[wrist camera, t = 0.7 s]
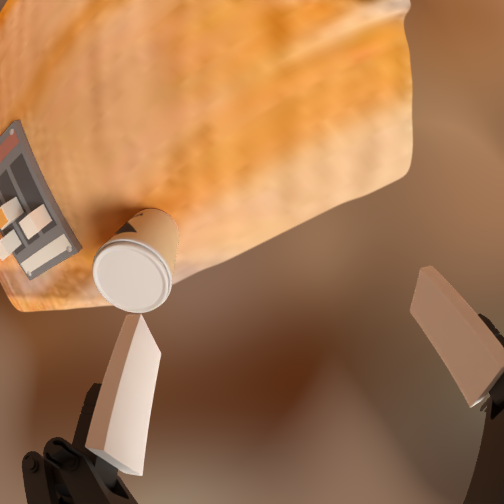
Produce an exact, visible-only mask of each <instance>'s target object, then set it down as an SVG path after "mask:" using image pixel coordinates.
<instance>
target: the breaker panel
mask: <svg viewBox="0 0 504 504" xmlns="http://www.w3.org/2000/svg"><path fill="white" fill-rule="evenodd" d="M15 197H17V199H18V201H19V203H20V205H21V207H22V209H23V211H24V213H23V214H22V215H20V216H19V217H18V218H17V219H16V220H15V221H13V222H12V223H11V224H9V225H8V226H7V227H6V228H4V229H3V230H1V229H0V232H1V234H2V236H3V238H2V239H1V240H0V259H1V260H2V261H3V260H4V259H5V258H7V257H8V256H9V255H10V254H11V253H13V255H14V257H15V258H16V260H17V261H18V263H19V265H20V266H21V268H22V269H23V271H24V272H25V274H26V275H27V277H28V278H29V280H32V279H34V278H35V277H37V276H38V275H40V274H42V273H43V272H45V271H47V270H48V269H50V268H52V267H53V266H55V265H57V264H59V263H60V262H62V261H64V260H65V259H67V258H69V257H71V256H72V255H74V254H76V253H78V252H79V251H80V250H81V248H82V247H81V245H80V243H79V242H78V240H77V238H76V237H75V235H74V233H73V232H72V230H71V228H70V227H69V225H68V223H67V221H66V220H65V218H64V216H63V214H62V212H61V211H60V209H59V207H58V205H57V203H56V201H55V199H54V197H53V195H52V193H51V191H50V189H49V187H48V185H47V183H46V181H45V179H44V177H43V175H42V173H41V171H40V169H39V166H38V164H37V162H36V160H35V157H34V155H33V153H32V150H31V148H30V145H29V143H28V140H27V138H26V135H25V133H24V130H23V127H22V124H21V122H20V120H16V121H14V122H13V123H12V124H11V125H10V126H9V127H8V128H7V129H6V130H5V132H4V133H3V134H2V135H1V136H0V207H1V206H2V205H3V204H5V203H7V202H8V201H10V200H11V199H13V198H15Z"/></svg>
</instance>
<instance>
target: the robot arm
mask: <svg viewBox="0 0 504 504" xmlns="http://www.w3.org/2000/svg"><path fill="white" fill-rule="evenodd" d="M410 312H411V314H412V315H413V317H414V318H415V320H416V321H417V322H418V324H419V325H420V327H421V328H422V330H423V331H424V332H425V334H426V336H427V337H428V338H429V340H430V341H431V343H432V345H433V346H434V347H435V349H436V351H437V352H438V354H439V355H440V357H441V358H442V360H443V361H444V363H445V365H446V366H447V368H448V370H449V371H450V373H451V375H452V376H453V378H454V379H455V381H456V383H457V385H458V386H459V388H460V390H461V392H462V393H463V395H464V397H465V399H466V401H467V402H468V404H469V406H470V407H472V406H473V405H475V404H477V403H478V402H480V401H482V400H483V398H484V397H485V396H486V395H487V394H488V392H489V394H490V397H489V398H488V399H487V401H486V402H485V403H484V404H483V405H482V407H481V409H480V411H482V410H483V409H484V408H485V407H486V406H487V408H486V410H485V412H486V419H485V425H484V431H483V436H482V441H481V446H480V450H479V454H478V458H477V462H476V466H475V470H474V473H473V477H472V480H471V483H470V486H469V489H468V492H467V495H466V498H465V500H464V503H463V504H504V337H503V336H502V335H500V332H499V331H498V330H497V329H495V326H494V325H493V324H492V322H491V321H490V320H489V319H487V318H486V317H485V316H483V315H481V314H478V315H477V314H476V313H475V311H474V310H473V309H472V308H471V307H470V306H469V305H468V304H467V302H466V301H465V300H464V299H463V298H462V297H461V296H460V295H459V293H458V292H457V291H456V290H455V289H454V288H453V287H452V286H451V285H450V284H449V283H448V282H447V281H446V280H445V278H444V277H443V276H442V275H441V274H440V273H439V272H438V271H437V270H436V269H435V268H434V267H433V266H427V267H423V268H420V272H419V276H418V280H417V284H416V289H415V292H414V296H413V300H412V304H411V307H410ZM160 357H161V352H160V351H159V349H158V347H157V345H156V343H155V341H154V339H153V337H152V335H151V333H150V331H149V329H148V327H147V325H146V323H145V321H144V319H143V317H142V314H130V315H126V318H125V320H124V323H123V325H122V328H121V331H120V334H119V336H118V339H117V341H116V344H115V347H114V350H113V353H112V356H111V359H110V361H109V364H108V368H107V370H106V373H105V376H104V379H103V383H102V384H97V383H94V384H93V385H92V387H91V388H90V390H89V391H88V392H87V395H86V398H85V401H84V406H83V407H82V410H81V414H80V417H79V421H78V424H77V428H76V431H75V435H74V439H73V442H72V445H71V444H70V443H69V442H67V441H66V440H64V439H63V438H60V437H56V438H52V439H51V440H50V441H48V442H47V443H46V445H45V447H44V452H43V455H44V457H43V456H41V455H40V454H39V453H37V452H35V451H34V452H33V451H31V452H28V453H27V454H26V455H25V456H24V458H23V461H22V471H23V478H24V486H25V492H26V498H27V503H28V504H138V503H137V501H136V500H135V499H134V497H133V496H132V494H131V493H130V492H129V490H128V489H127V487H126V486H125V484H124V483H123V481H122V480H121V478H120V477H119V476H118V475H117V472H118V469H119V470H121V471H122V472H124V473H127V474H134V475H140V476H142V475H143V465H144V457H145V448H146V441H147V433H148V426H149V420H150V413H151V407H152V401H153V395H154V389H155V383H156V378H157V372H158V367H159V362H160Z"/></svg>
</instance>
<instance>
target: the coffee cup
mask: <svg viewBox="0 0 504 504" xmlns="http://www.w3.org/2000/svg"><path fill="white" fill-rule="evenodd" d="M178 243H179V230H178V227H177V224H176V223H175V221H174V220H173V218H172V217H171V216H170V215H168V214H167V213H165V212H163V211H161V210H158V209H145V210H142V211H140V212H138V213H137V214H135V215H134V216H133V217H132V218H131V219H130V220H129V221H128V222H127V223H126V224H124V225H123V226H122V227H121V228H120V229H119V230H118V231H117V232H116V233H115V234H114V235H113V236H112V237H111V238H110V239H109V240H108V241H107V242H106V243H105V244H103V245H102V246H101V247H100V248H99V250H98V251H97V253H96V255H95V257H94V260H93V278H94V282H95V284H96V287H97V288H98V290H99V292H100V293H101V294H102V296H103V297H104V298H105V299H106V300H107V301H108V302H110V303H111V304H113V305H114V306H116V307H118V308H120V309H122V310H125V311H129V312H134V313H142V312H148V311H151V310H153V309H155V308H157V307H158V306H160V305H161V304H162V303H163V302H164V301H165V300H166V299H167V297H168V295H169V293H170V291H171V286H172V275H173V270H174V265H175V259H176V254H177V249H178Z"/></svg>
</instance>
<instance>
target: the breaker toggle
mask: <svg viewBox="0 0 504 504" xmlns="http://www.w3.org/2000/svg"><path fill="white" fill-rule="evenodd" d="M23 213H24V211H23V209H22V207H21V205H20V203H19V201H18V199H17V197H15V198H13V199H11V200H10V201H8V202H7V203H5V204H3V205H2V206H1V207H0V229H1V230H3V229H4V228H6V227H7V226H8V225H9V224H11V223H12V222H13V221H15V220H16V219H17V218H18V217H19V216H20V215H22V214H23Z"/></svg>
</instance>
